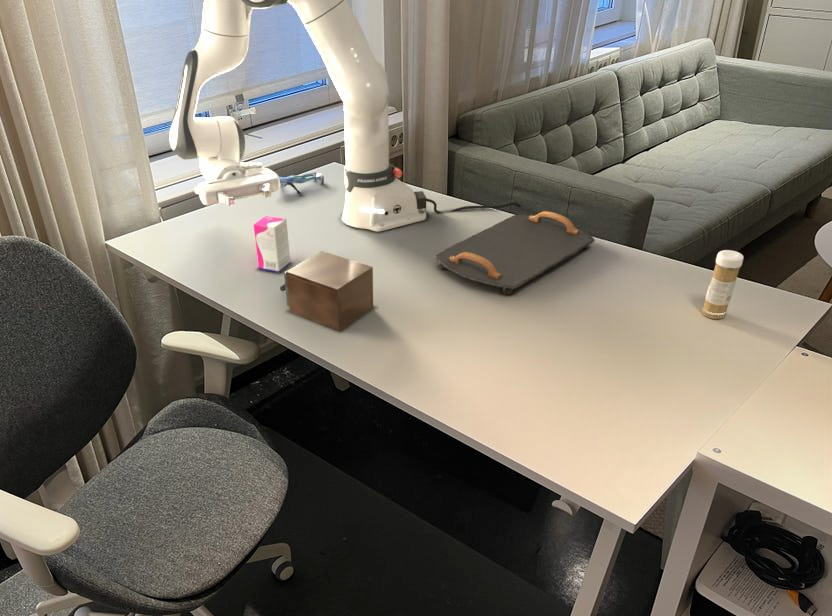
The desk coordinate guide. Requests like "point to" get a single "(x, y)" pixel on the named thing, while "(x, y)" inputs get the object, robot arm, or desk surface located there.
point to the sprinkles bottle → (722, 283)
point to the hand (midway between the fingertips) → (249, 198)
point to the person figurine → (301, 179)
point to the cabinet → (330, 290)
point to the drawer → (285, 288)
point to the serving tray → (515, 250)
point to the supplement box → (272, 244)
